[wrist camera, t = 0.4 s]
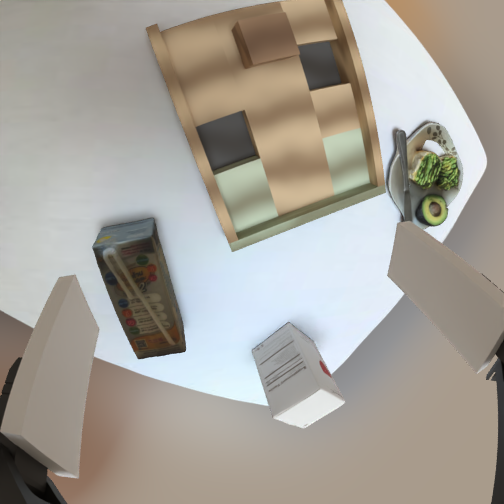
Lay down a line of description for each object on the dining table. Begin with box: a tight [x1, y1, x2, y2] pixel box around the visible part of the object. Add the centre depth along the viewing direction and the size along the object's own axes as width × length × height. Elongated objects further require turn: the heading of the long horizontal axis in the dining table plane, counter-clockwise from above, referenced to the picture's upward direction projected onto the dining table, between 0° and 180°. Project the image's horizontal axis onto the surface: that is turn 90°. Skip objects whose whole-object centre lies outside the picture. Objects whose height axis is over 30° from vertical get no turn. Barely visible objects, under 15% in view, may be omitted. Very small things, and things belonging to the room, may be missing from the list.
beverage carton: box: [92, 218, 186, 359], centre depth 37 cm, size 8×19×7 cm, turn 4°
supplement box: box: [252, 323, 345, 428], centre depth 46 cm, size 9×9×15 cm
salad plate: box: [388, 122, 463, 229], centre depth 40 cm, size 19×18×5 cm
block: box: [231, 12, 300, 69], centre depth 24 cm, size 5×5×4 cm
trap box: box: [146, 0, 386, 252], centre depth 31 cm, size 28×22×4 cm
